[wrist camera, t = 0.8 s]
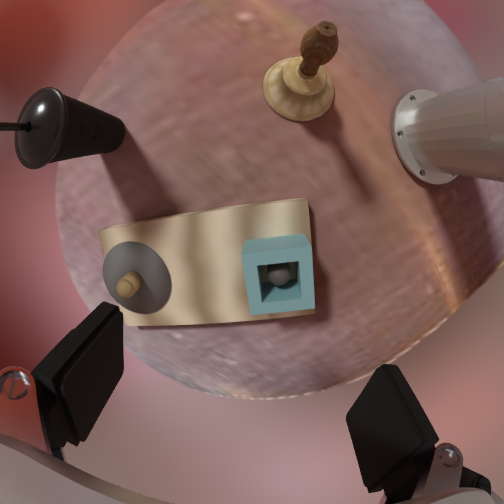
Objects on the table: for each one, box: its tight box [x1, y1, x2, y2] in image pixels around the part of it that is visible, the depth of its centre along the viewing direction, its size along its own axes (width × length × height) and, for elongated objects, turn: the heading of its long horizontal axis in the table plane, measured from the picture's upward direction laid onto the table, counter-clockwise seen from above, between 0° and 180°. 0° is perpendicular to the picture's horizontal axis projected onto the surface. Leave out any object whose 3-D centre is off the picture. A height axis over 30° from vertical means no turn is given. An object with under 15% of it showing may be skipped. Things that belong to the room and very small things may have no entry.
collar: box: [241, 234, 315, 315], centre depth 29 cm, size 7×7×5 cm
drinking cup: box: [0, 87, 125, 169], centre depth 20 cm, size 8×8×20 cm
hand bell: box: [263, 21, 338, 121], centre depth 19 cm, size 8×8×16 cm
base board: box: [98, 198, 315, 326], centre depth 31 cm, size 27×14×6 cm, turn 98°
